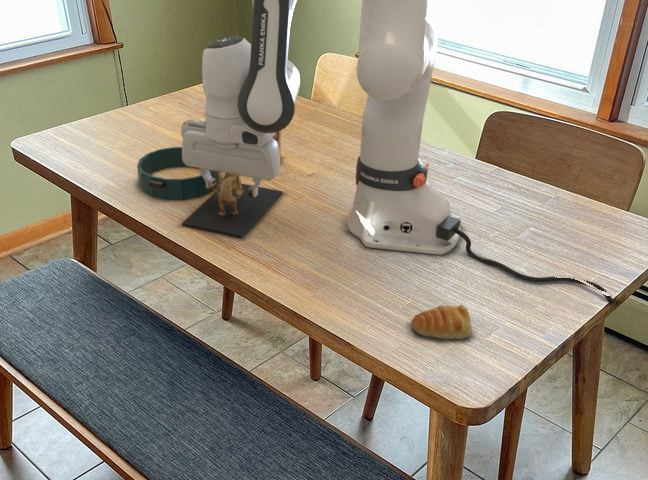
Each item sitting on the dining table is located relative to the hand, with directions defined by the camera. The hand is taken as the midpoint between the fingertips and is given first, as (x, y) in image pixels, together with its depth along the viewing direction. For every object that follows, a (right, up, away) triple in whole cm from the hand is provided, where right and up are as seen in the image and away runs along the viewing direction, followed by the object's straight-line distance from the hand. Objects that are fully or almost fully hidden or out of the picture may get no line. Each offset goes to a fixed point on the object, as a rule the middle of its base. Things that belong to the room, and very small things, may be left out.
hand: (232, 191), depth 149 cm
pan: (-13, +5, +12) cm, 18 cm away
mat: (0, -3, +2) cm, 4 cm away
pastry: (+38, -29, -29) cm, 56 cm away
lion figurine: (0, -3, +2) cm, 4 cm away
